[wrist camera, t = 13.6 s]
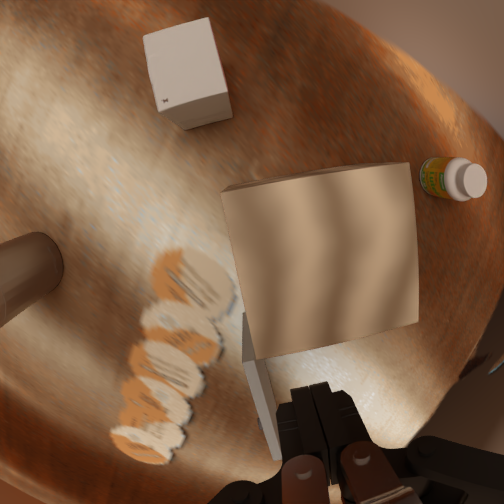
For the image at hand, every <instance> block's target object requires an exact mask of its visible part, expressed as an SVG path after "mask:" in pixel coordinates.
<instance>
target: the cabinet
mask: <svg viewBox="0 0 504 504" xmlns="http://www.w3.org/2000/svg"><path fill="white" fill-rule="evenodd" d="M221 198H222V203H223V208H224V213H225V218H226V222H227V227H228V232H229V237H230V241H231V246H232V251H233V255H234V260H235V265H236V269H237V274H238V279H239V283H240V288H241V292H242V297H243V302H244V306H245V311H246V315H247V320H248V324H249V329H250V333H251V338H252V342H253V346H254V351H255V355H256V360H259V359H265V358H270V357H276V356H281V355H286V354H291V353H296V352H301V351H306V350H311V349H315V348H320V347H324V346H329V345H333V344H338V343H342V342H346V341H350V340H354V339H358V338H362V337H366V336H370V335H374V334H377V333H381V332H385V331H388V330H392V329H395V328H399V327H402V326H406V325H409V324H413V323H416V322H418V312H419V277H418V248H417V231H416V218H415V207H414V197H413V189H412V180H411V173H410V165H409V163H362V164H354V165H347V166H340V167H333V168H327V169H320V170H314V171H308V172H302V173H296V174H290V175H284V176H278V177H273V178H267V179H262V180H257V181H251V182H246V183H241V184H236V185H231V186H228V187H227V188H226V189H224V190H223V191H222V192H221Z"/></svg>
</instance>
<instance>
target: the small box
mask: <svg viewBox="0 0 504 504" xmlns="http://www.w3.org/2000/svg"><path fill="white" fill-rule="evenodd" d="M143 42H144V48H145V54H146V59H147V65H148V72H149V76H150V81H151V84H152V88H153V92H154V96H155V101H156V105H157V109H158V112H159V113H161V114H162V115H164V116H165V117H167V118H168V119H169V120H171V121H172V122H174V123H175V124H177V125H178V126H180V127H181V128H182V129H184V130H188V129H191V128H195V127H198V126H202V125H205V124H209V123H213V122H217V121H221V120H225V119H229V118H233V111H232V107H231V102H230V97H229V91H228V86H227V82H226V78H225V74H224V70H223V66H222V62H221V58H220V54H219V51H218V47H217V44H216V40H215V37H214V33H213V29H212V26H211V23H210V19H209V17H207V18H203V19H199V20H195V21H191V22H188V23H184V24H180V25H177V26H173V27H170V28H166V29H163V30H160V31H157V32H153V33H150V34H147V35H144V36H143Z"/></svg>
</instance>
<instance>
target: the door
mask: <svg viewBox="0 0 504 504" xmlns="http://www.w3.org/2000/svg"><path fill="white" fill-rule="evenodd" d="M242 364H243V367H244V370H245V373H246V377H247V380H248V383H249V386H250V390H251V393H252V396H253V399H254V402H255V406H256V409H257V412H258V415H259V418H258V425H259V429H260V430H264V433H265V436H266V440H267V443H268V446H269V449H270V452H271V455H272V458H273V460H274V461H275V460H280V459H282V454H281V447H280V440H279V434H278V427H277V420H276V411H277V409H276V402H275V398H274V395H273V391H272V387H271V383H270V380H269V376H268V372H267V368H266V364H265V361H264V359H259V360H256V355H255V351H254V346H253V342H252V338H251V333H250V329H249V324H248V320H247V315H246V312H244V313H243V332H242Z"/></svg>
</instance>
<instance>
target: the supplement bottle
mask: <svg viewBox="0 0 504 504" xmlns="http://www.w3.org/2000/svg"><path fill="white" fill-rule="evenodd" d="M420 182H421V185H422V187H423V189H424V190H425V191H426V192H427V193H428V194H430V195H432V196H437V197H442V198H447V199H452V200H457V201H466V200H469V199H470V198H471V197H472V198H478V197H480V196H482V195H483V193H484V192H485V190H486V187H487V177H486V173H485V171H484V169H483V168H482V167H481V166H480V165H478V164H473V163H471V162H470V161H469V160H467V159H465V158H459V157H445V158H439V157H438V158H430V159H428V160H426V161H425V162H424V163H423V165H422V167H421V170H420Z"/></svg>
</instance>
